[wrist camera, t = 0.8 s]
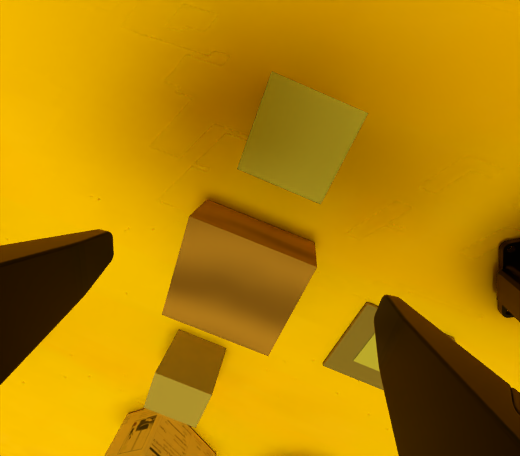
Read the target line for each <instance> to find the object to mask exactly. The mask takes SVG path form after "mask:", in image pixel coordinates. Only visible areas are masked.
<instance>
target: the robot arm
mask: <svg viewBox="0 0 520 456" xmlns="http://www.w3.org/2000/svg"><path fill="white" fill-rule="evenodd" d="M510 246H512V247H511V248H510V249H508V248H509V247H510ZM507 249H508V250H507ZM113 255H114V251H113V236H112V234H111V233H110V232H109V231H104V230H100V229H97V230H91V231H85V232H79V233H73V234H67V235H61V236H55V237H49V238H43V239H37V240H31V241H25V242H19V243H13V244H7V245H1V246H0V385H1V384H2V383H3V382H4V381H5V379H6V378H7V377H8V376H9V375H10V374H11V373H12V372H13V371H14V370H15V369H16V368H17V367H18V366H19V365H20V364H21V363H22V361H23V360H24V359H25V358H26V357H27V356H28V355H29V354H30V353H31V352H32V351H33V350H34V349H35V348H36V347H37V346H38V344H39V343H40V342H41V341H42V340H43V339H44V338H45V337H46V336H47V335H48V334H49V333H50V332H51V331H52V330H53V329H54V328H55V326H56V325H57V324H58V323H59V322H60V321H61V320H62V319H63V318H64V317H65V316H66V315H67V314H68V313H69V312H70V311H71V310H72V308H73V307H74V306H75V305H76V304H77V303H78V302H79V301H80V300H81V299H82V298H83V297H84V295H85V294H86V293H87V292H88V290H89V289H90V288H91V287H92V285H93V284H94V283H95V281H96V280H97V279H98V278H99V276H100V275H101V274H102V272H103V271H104V270H105V268H106V267H107V266H108V265H109V263H110V262H111V260H112V258H113ZM497 300H498V301H499V312H500V313H501V314H502V315H503V316H504V317H506V318H510V317H515V318H516V319H517V320H518V321H519V322H520V238H518V239H513V240H507V241H504V242H503V243H502V244H501V245H500V248H499V271H498V272H497ZM507 310H508V311H507ZM374 329H375V339H376V348H377V357H378V365H379V370H380V375H381V380H382V384H383V389H384V393H385V397H386V402H387V406H388V411H389V415H390V419H391V424H392V428H393V432H394V437H395V441H396V446H397V450H398V454H399V456H520V393H519V392H518V391H517V390H516V389H514V388H511V387H510V385H509V384H508V383H507V382H505V381H504V380H503V379H502V378H500V377H499V376H498V375H496V374H495V373H494V372H493V371H491V370H490V369H489V368H488V367H486V366H485V365H484V364H483V363H481V362H480V361H479V360H477V359H476V358H475V357H474V356H472V355H471V354H470V353H469V352H467V351H466V350H465V349H464V348H462V347H461V346H460V345H458V344H457V343H456V342H455V341H453V340H452V339H451V338H450V337H448V336H447V335H446V334H445V333H443V332H442V331H441V330H439V329H438V328H437V327H436V326H434V325H433V324H432V323H431V322H429V321H428V320H427V319H426V318H424V317H423V316H422V315H420V314H419V313H418V312H417V311H415V310H414V309H413V308H412V307H410V306H409V305H408V304H407V303H405V302H404V301H403V300H401V299H400V298H399V297H395V296H391V295H384V296H383V297H382V299H381V301H380V304H379V306H378V308H377V311H376V313H375V315H374Z"/></svg>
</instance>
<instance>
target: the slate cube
mask: <svg viewBox="0 0 520 456" xmlns="http://www.w3.org/2000/svg"><path fill="white" fill-rule="evenodd" d="M225 351H226V348H224V347H222V346H219V345H217V344H214V343H212V342H209V341H207V340H204V339H202V338H199V337H197V336H194V335H192V334H189V333H187V332H184V331H182V330H179V331H178V332H177V334H176V336H175V338H174V340H173V342H172V343H171V345H170V347H169V349H168V351H167V352H166V354H165V356H164V358H163V360H162V361H161V363H160V365H159V367H158V369H157V370H156V372H155V375H154V378H153V381H152V384H151V387H150V390H149V393H148V396H147V399H146V402H145V405H144V408H146V409H149V410H151V411H154V412H156V413H159V414H161V415H164V416H167V417H169V418H172V419H174V420H177V421H179V422H182V423H184V424H187V425H190V426H192V427H195V428H196V426H197V424H198V422H199V420H200V418H201V416H202V414H203V412H204V410H205V408H206V406H207V404H208V402H209V400H210V398H211V396H212V393H213V390H214V386H215V383H216V380H217V377H218V374H219V370H220V367H221V364H222V361H223V357H224V354H225Z"/></svg>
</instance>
